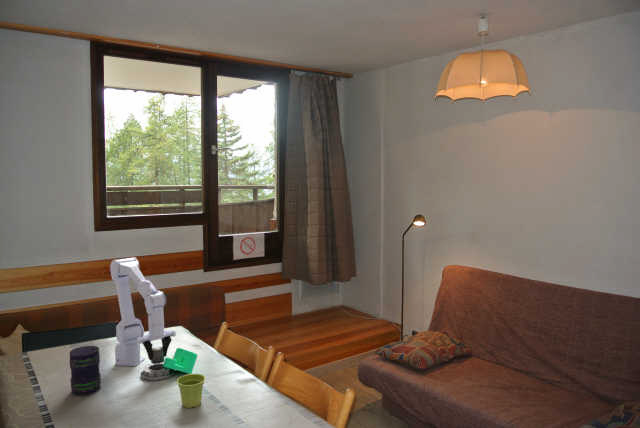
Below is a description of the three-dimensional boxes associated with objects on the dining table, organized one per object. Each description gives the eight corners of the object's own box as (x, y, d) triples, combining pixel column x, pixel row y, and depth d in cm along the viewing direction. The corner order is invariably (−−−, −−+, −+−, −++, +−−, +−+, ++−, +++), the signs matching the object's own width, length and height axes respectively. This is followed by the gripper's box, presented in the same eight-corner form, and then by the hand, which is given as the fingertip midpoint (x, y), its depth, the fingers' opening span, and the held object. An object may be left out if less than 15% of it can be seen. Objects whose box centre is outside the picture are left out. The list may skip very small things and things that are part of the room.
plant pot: (211, 399, 165) (210, 375, 164) (195, 412, 156) (195, 386, 155) (188, 396, 168) (187, 372, 167) (171, 408, 159) (170, 383, 158)
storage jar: (70, 398, 167) (68, 357, 166) (71, 388, 176) (69, 348, 175) (101, 392, 172) (100, 352, 170) (100, 382, 180) (98, 344, 179)
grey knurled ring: (134, 380, 181) (133, 373, 181) (150, 367, 194) (149, 360, 194) (166, 381, 180) (166, 374, 180) (180, 368, 193) (180, 361, 193)
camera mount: (200, 354, 189) (180, 349, 182) (193, 374, 187) (173, 370, 180) (181, 348, 197) (162, 343, 189) (175, 367, 195) (155, 362, 187)
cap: (148, 363, 185) (148, 350, 184) (154, 358, 189) (154, 346, 189) (161, 363, 184) (160, 350, 184) (166, 359, 189) (166, 346, 189)
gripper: (140, 329, 178) (142, 365, 179) (178, 322, 187) (179, 355, 188) (134, 325, 184) (136, 359, 185) (171, 318, 193) (172, 351, 194)
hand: (157, 357), depth 187 cm, fingers closed on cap, 5 cm apart
